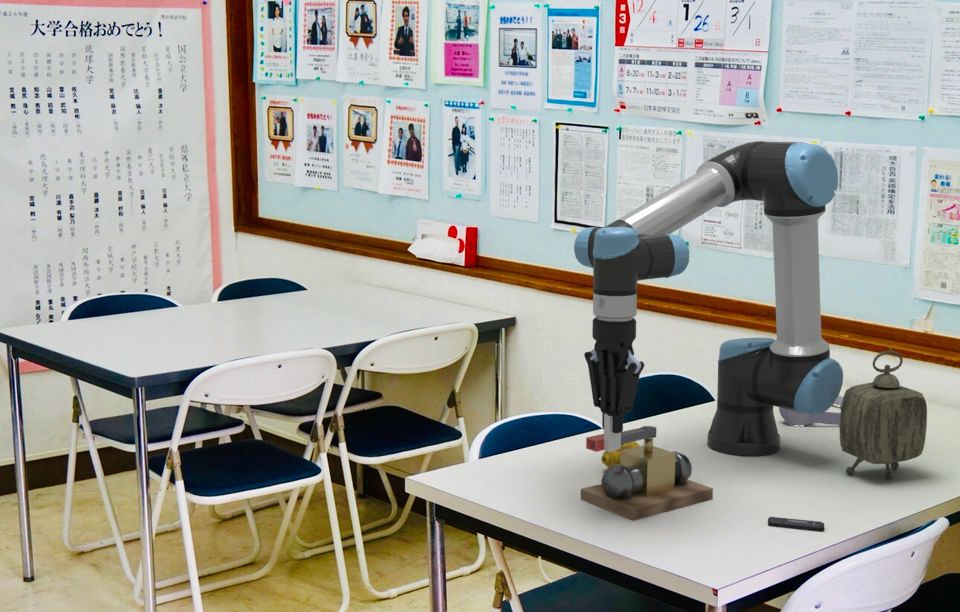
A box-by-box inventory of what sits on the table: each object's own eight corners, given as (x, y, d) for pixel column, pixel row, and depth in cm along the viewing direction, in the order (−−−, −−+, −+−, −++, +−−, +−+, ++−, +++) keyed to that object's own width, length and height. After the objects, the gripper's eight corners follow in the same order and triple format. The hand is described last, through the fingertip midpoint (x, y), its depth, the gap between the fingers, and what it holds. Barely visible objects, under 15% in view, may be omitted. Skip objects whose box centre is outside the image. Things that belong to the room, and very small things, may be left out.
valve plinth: (658, 479, 237) (658, 469, 237) (712, 498, 226) (713, 488, 226) (580, 499, 225) (580, 488, 225) (633, 520, 214) (633, 509, 214)
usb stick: (766, 528, 212) (767, 519, 212) (768, 523, 214) (768, 514, 214) (823, 534, 209) (823, 525, 209) (824, 529, 211) (824, 520, 211)
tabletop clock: (896, 466, 246) (904, 344, 242) (927, 479, 238) (936, 353, 234) (836, 473, 241) (843, 349, 237) (866, 487, 233) (874, 358, 229)
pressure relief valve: (594, 467, 243) (632, 459, 249) (633, 493, 234) (672, 484, 240) (598, 442, 242) (636, 434, 247) (637, 466, 232) (676, 458, 238)
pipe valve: (668, 478, 233) (669, 426, 232) (695, 488, 228) (697, 435, 226) (597, 496, 223) (598, 442, 221) (624, 506, 217) (625, 451, 216)
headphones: (777, 426, 276) (869, 435, 273) (781, 395, 275) (873, 405, 272) (769, 402, 298) (854, 411, 295) (773, 374, 297) (858, 382, 294)
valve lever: (648, 434, 225) (648, 423, 225) (659, 437, 223) (659, 427, 223) (585, 448, 216) (585, 437, 216) (596, 452, 214) (596, 440, 214)
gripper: (573, 314, 214) (571, 444, 218) (624, 325, 204) (621, 461, 208) (605, 309, 219) (603, 437, 223) (656, 320, 209) (653, 454, 213)
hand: (612, 449), depth 216 cm, fingers closed
